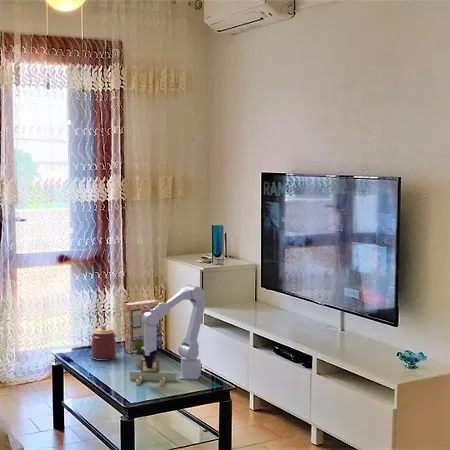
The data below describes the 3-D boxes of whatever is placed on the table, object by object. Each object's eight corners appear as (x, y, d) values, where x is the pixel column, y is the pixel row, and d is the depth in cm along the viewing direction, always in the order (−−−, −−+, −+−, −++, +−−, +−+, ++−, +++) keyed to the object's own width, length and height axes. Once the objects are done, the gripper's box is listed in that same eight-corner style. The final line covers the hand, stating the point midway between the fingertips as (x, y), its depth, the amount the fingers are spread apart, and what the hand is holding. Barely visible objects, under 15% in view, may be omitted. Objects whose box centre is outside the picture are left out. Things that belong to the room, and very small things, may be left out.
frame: (159, 371, 336) (159, 358, 335) (158, 373, 333) (158, 360, 332) (142, 370, 336) (142, 358, 336) (140, 372, 333) (140, 359, 333)
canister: (86, 357, 383) (86, 324, 382) (107, 353, 391) (107, 321, 390) (100, 362, 373) (99, 328, 372) (121, 358, 382) (120, 325, 381)
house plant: (133, 371, 356) (133, 338, 355) (120, 365, 368) (119, 333, 367) (158, 366, 365) (158, 334, 364) (144, 360, 376) (144, 330, 375)
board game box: (156, 346, 408) (156, 299, 406) (162, 348, 403) (162, 300, 401) (124, 351, 396) (124, 302, 394) (129, 354, 391) (129, 304, 389)
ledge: (176, 380, 341) (176, 371, 340) (172, 385, 331) (172, 377, 331) (130, 378, 343) (130, 370, 343) (125, 384, 333) (125, 376, 333)
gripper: (144, 334, 341) (145, 362, 342) (138, 341, 327) (138, 371, 327) (159, 334, 340) (159, 363, 341) (153, 341, 326) (153, 371, 327)
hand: (150, 367), depth 334 cm, fingers closed on frame, 3 cm apart
